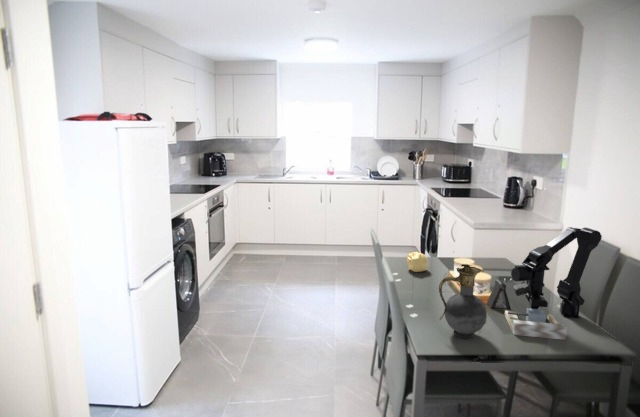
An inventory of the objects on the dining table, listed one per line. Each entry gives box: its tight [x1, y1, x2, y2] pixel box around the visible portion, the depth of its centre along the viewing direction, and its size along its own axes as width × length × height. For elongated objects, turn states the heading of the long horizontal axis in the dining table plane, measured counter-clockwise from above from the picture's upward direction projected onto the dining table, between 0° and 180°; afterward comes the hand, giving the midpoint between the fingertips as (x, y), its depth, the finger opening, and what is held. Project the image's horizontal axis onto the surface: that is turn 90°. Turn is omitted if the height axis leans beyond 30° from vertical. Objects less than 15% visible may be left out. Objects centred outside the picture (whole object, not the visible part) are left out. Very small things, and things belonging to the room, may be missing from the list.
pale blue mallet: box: [508, 307, 547, 323], centre depth 183 cm, size 14×6×5 cm, turn 77°
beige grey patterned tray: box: [504, 309, 568, 341], centre depth 179 cm, size 19×19×5 cm
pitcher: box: [438, 263, 487, 339], centre depth 170 cm, size 11×19×30 cm, turn 93°
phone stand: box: [486, 278, 512, 310], centre depth 198 cm, size 9×6×12 cm, turn 85°
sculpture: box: [406, 251, 429, 273], centre depth 247 cm, size 11×12×11 cm
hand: (532, 313), depth 187 cm, fingers closed
